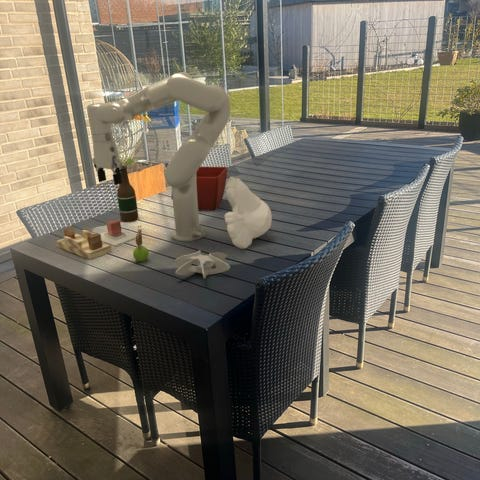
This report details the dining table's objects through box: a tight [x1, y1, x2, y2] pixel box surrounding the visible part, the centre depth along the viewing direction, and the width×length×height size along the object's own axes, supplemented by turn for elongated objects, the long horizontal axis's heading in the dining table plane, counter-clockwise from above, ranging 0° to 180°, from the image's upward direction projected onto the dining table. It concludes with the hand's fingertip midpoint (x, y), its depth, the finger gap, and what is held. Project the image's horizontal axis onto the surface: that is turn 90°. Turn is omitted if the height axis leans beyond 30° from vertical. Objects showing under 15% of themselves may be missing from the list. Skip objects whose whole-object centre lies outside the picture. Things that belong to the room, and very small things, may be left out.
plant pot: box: [196, 166, 228, 211], centre depth 222 cm, size 19×19×17 cm
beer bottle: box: [116, 165, 139, 223], centre depth 208 cm, size 8×8×24 cm
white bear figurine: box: [224, 176, 273, 250], centre depth 177 cm, size 25×16×25 cm
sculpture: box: [174, 249, 231, 280], centre depth 157 cm, size 18×20×6 cm
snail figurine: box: [132, 225, 150, 262], centre depth 167 cm, size 5×6×12 cm
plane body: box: [56, 227, 112, 261], centre depth 180 cm, size 22×9×8 cm, turn 50°
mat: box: [100, 230, 136, 247], centre depth 191 cm, size 16×11×1 cm
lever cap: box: [104, 219, 127, 240], centre depth 191 cm, size 8×5×6 cm, turn 48°
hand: (110, 182), depth 184 cm, fingers open, 9 cm apart
